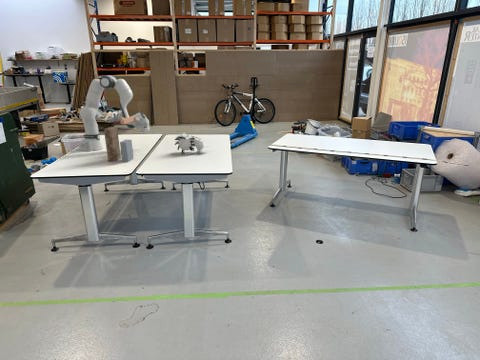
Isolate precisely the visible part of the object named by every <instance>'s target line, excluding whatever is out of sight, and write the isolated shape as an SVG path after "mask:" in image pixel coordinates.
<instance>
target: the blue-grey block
mask: <svg viewBox="0 0 480 360" xmlns="http://www.w3.org/2000/svg"><path fill="white" fill-rule="evenodd" d="M119 146H120V154H121V162H122V163H123V162H124V163H129V162H131V161H132V160H134V159H135V158H134V151H133V150H134V149H133V141H132V139H123V140H122V141H119Z"/></svg>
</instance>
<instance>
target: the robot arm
mask: <svg viewBox="0 0 480 360" xmlns="http://www.w3.org/2000/svg"><path fill="white" fill-rule="evenodd" d="M106 89H107V90H109V89H115V91H116V92H117V94H118V96H119V98H120V99H119V101H118V102H119V107H120V110H121V113H122V116H123V119H125V118H128V117H130V115H129V112H128V109H127V106H128V104H129V103H130V102H131V101H132V100H133V97H134V93H133V91H132V89H131V87H130V86H129V84H128V83H127V81H126V80H125V79H123V78H117V77H115V76H113V75H109V74H108V75H107V74H106V75H102V76H101V77H100V78H94V79H92V81H91V83H90V85H89V88H88V91H87V95H86V96H85V97H86V99H85V105H84V106H83V107H82V108H81V109H80V111H79V116H80V117H81V120H82V123H83V127H84V132H85V134H83V139H82V140H81V141H79V143H78V147H77V148H76V151H83V152H93V151H100V150H102V149H104V148H103V145H102V142H101V136H100V132H99V125H98V123H97V120H96V117H97V115H98V111H99V107H100V102H101V98H102V95H103V92H104V90H106ZM132 116H136V117H134V119H135V120H134V121H131V122H129V123H126V124H125V125H126V127H127V128H129V129H131V130H133V129H135V128H136V129H137V130H139V131H140V132H141V133H143V134H147V133H149V131H150V129H151V128H150V120H149V119H148V117H147V116H146V114H145V113H144V112H140V111H139V112H137V113H136V114H134V115H132Z"/></svg>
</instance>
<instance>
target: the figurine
mask: <svg viewBox="0 0 480 360" xmlns="http://www.w3.org/2000/svg"><path fill="white" fill-rule="evenodd" d="M202 139H203V138H202V137H200V136H199V137H197V136H196V135H195V134H192V135H189V134H188V135H187V134H186V133H185V132H182V134H181V133H178V136H176V137H175V139H174V141H175V143H174V145H175V146H177V145H178V147H177V151H179V150H180V149H181V153H182V154H183V155H184V154H185V153H184V152H185V151H191V152H192V151H195V149H196V150H197V151H196V154H200V152H201V151H202V150H203V149H204V148H207V147H210V145H209V144H207V143H205V141H204V140H202Z"/></svg>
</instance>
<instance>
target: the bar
mask: <svg viewBox="0 0 480 360" xmlns="http://www.w3.org/2000/svg"><path fill="white" fill-rule="evenodd" d="M134 117H136V116H133V115H131V116H129V117H128V118H125V119H124V118H122V119H120V124H121V125H126V123H129V122H131V121H134V120H135V119H134Z"/></svg>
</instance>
